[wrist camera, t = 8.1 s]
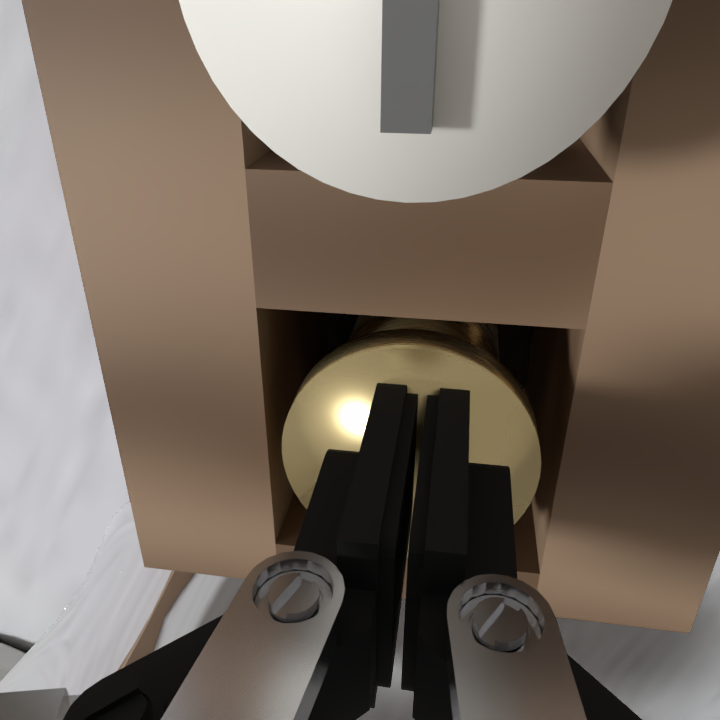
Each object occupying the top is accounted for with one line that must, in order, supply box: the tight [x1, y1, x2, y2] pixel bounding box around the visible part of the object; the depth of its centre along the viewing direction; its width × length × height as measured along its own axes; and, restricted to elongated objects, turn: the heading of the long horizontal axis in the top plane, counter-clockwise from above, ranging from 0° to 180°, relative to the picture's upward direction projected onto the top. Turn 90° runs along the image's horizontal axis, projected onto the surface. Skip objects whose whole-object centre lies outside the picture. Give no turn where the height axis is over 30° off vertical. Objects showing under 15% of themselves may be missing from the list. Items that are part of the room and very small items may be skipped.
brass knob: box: [282, 315, 541, 559], centre depth 15 cm, size 5×5×6 cm
